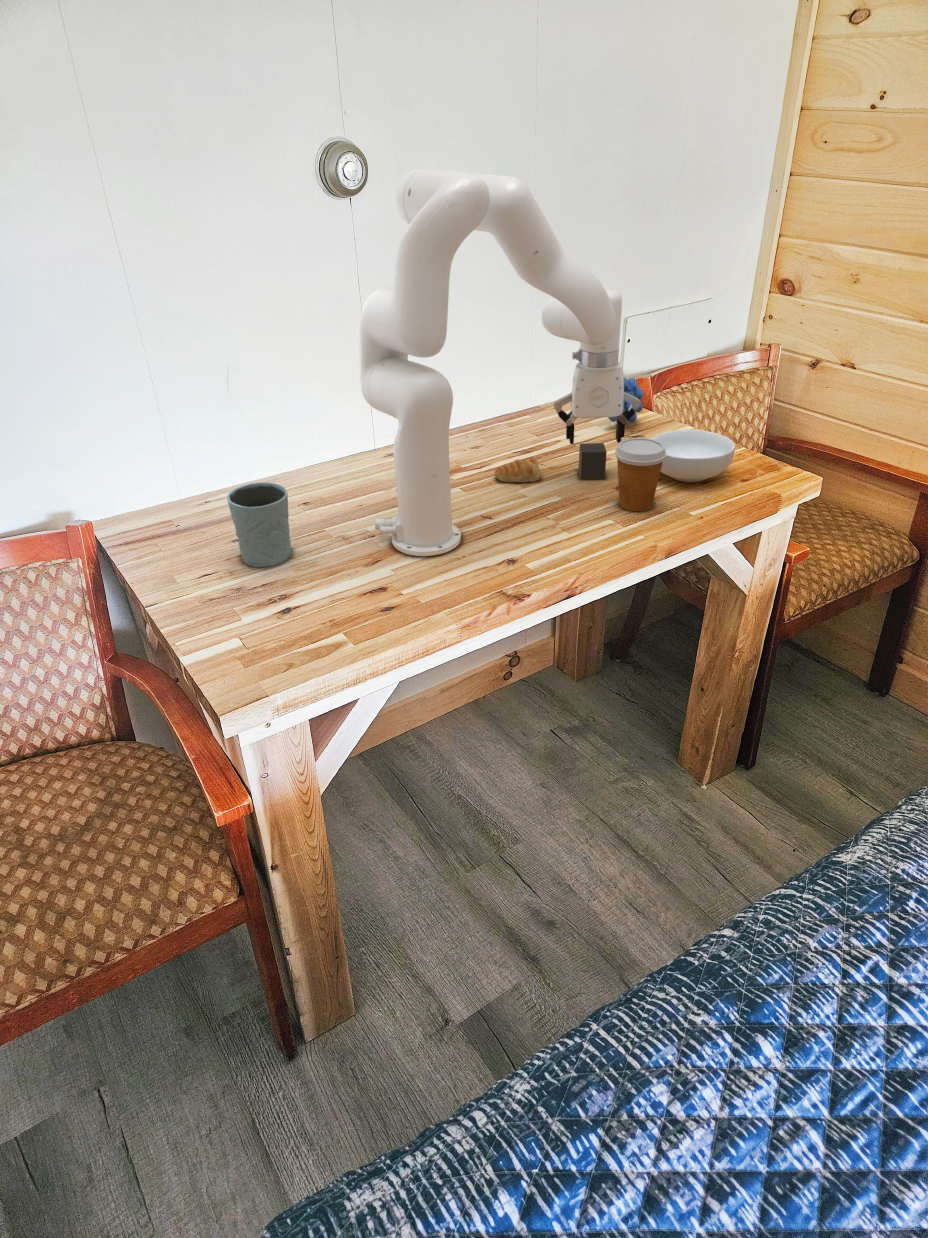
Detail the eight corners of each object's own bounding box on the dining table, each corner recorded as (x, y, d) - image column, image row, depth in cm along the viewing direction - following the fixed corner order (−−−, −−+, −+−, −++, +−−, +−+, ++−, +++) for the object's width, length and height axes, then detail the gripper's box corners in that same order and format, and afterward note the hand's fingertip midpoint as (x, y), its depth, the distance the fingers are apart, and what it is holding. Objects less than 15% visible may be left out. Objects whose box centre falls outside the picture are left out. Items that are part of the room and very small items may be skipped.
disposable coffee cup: (664, 514, 155) (671, 455, 149) (614, 515, 156) (619, 456, 149) (655, 493, 163) (662, 436, 157) (607, 494, 164) (612, 437, 157)
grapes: (616, 436, 190) (620, 385, 184) (597, 428, 195) (600, 378, 189) (653, 426, 196) (658, 375, 189) (633, 418, 200) (637, 369, 194)
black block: (580, 479, 170) (582, 452, 167) (578, 470, 175) (579, 443, 171) (604, 479, 170) (606, 451, 167) (601, 469, 174) (603, 442, 171)
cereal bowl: (701, 455, 180) (706, 423, 176) (746, 483, 166) (752, 450, 162) (632, 466, 175) (635, 434, 172) (672, 496, 162) (676, 463, 158)
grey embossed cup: (247, 542, 150) (235, 482, 144) (302, 542, 150) (292, 481, 144) (232, 570, 142) (219, 506, 135) (290, 569, 142) (280, 506, 135)
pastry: (499, 486, 169) (499, 469, 166) (491, 474, 174) (490, 457, 172) (542, 481, 170) (543, 463, 168) (533, 469, 176) (533, 452, 174)
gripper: (555, 364, 156) (553, 449, 166) (646, 361, 156) (639, 446, 165) (553, 353, 163) (551, 435, 172) (640, 350, 162) (634, 433, 171)
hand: (594, 441), depth 169 cm, fingers open, 9 cm apart
